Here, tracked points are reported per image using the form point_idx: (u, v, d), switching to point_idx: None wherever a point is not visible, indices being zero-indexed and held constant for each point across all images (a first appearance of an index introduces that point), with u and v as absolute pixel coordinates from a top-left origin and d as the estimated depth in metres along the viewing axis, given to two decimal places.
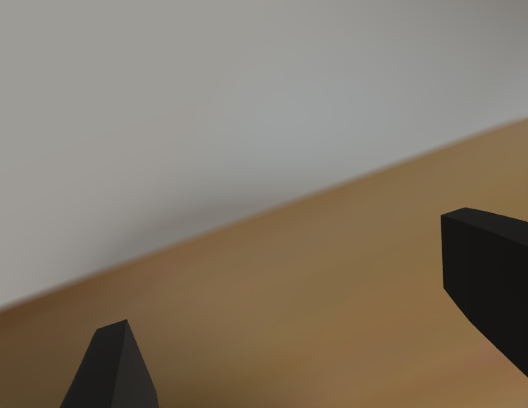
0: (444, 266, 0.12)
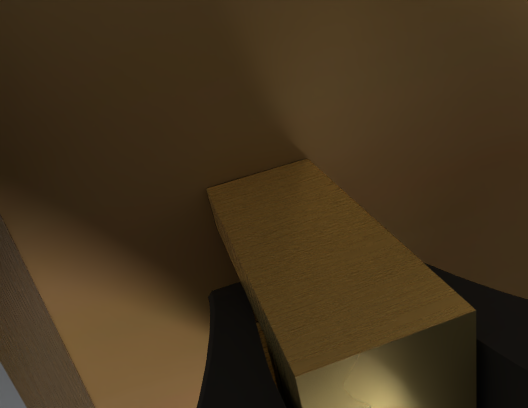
0: None
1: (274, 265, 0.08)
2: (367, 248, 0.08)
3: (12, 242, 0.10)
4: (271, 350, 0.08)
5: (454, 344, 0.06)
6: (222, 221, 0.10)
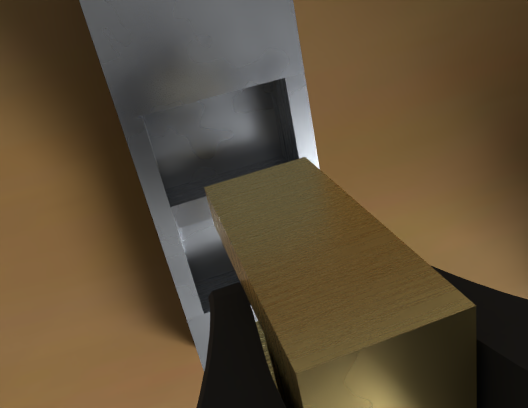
0: None
1: (273, 262, 0.08)
2: (366, 245, 0.08)
3: None
4: (271, 348, 0.08)
5: (454, 340, 0.06)
6: (220, 219, 0.10)
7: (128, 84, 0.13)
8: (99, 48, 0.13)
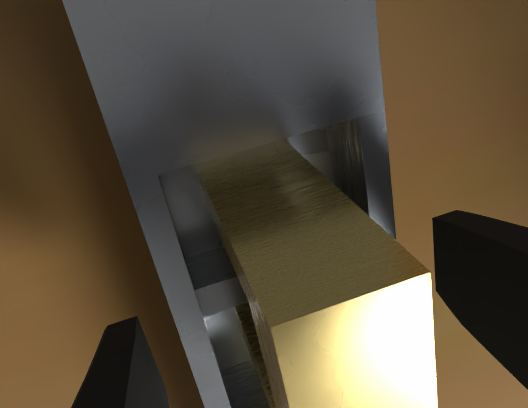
0: (436, 269, 0.12)
1: (257, 238, 0.09)
2: (341, 223, 0.09)
3: None
4: (254, 314, 0.09)
5: (412, 302, 0.07)
6: (212, 202, 0.11)
7: (138, 131, 0.09)
8: (96, 81, 0.09)
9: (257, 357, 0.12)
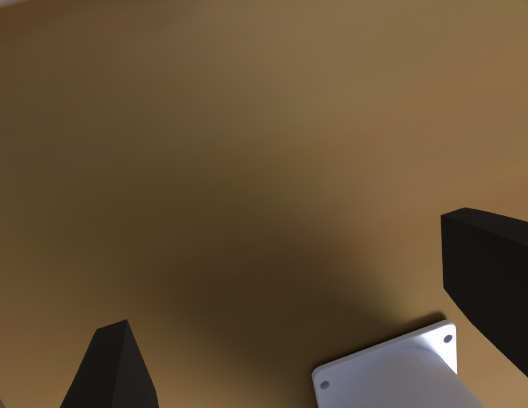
0: (444, 266, 0.12)
1: None
2: None
3: None
4: None
5: None
6: None
7: None
8: None
9: None
